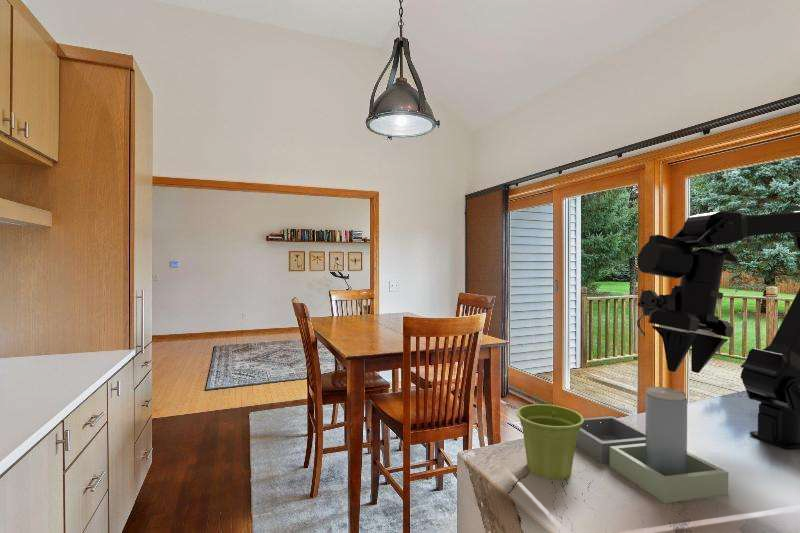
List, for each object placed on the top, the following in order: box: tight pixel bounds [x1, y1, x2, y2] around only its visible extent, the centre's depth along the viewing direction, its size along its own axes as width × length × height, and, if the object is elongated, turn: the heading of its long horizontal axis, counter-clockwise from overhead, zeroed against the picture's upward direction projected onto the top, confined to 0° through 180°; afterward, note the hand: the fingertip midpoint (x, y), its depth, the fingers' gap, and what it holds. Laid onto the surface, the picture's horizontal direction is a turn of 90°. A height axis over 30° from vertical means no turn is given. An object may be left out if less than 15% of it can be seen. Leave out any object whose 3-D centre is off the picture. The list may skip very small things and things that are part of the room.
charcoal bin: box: [575, 415, 646, 464], centre depth 71 cm, size 10×10×4 cm
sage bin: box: [609, 443, 730, 505], centre depth 60 cm, size 10×10×4 cm
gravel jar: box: [645, 386, 688, 476], centre depth 60 cm, size 5×5×12 cm
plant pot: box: [516, 403, 584, 480], centre depth 63 cm, size 9×9×9 cm
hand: (683, 371), depth 73 cm, fingers open, 9 cm apart
